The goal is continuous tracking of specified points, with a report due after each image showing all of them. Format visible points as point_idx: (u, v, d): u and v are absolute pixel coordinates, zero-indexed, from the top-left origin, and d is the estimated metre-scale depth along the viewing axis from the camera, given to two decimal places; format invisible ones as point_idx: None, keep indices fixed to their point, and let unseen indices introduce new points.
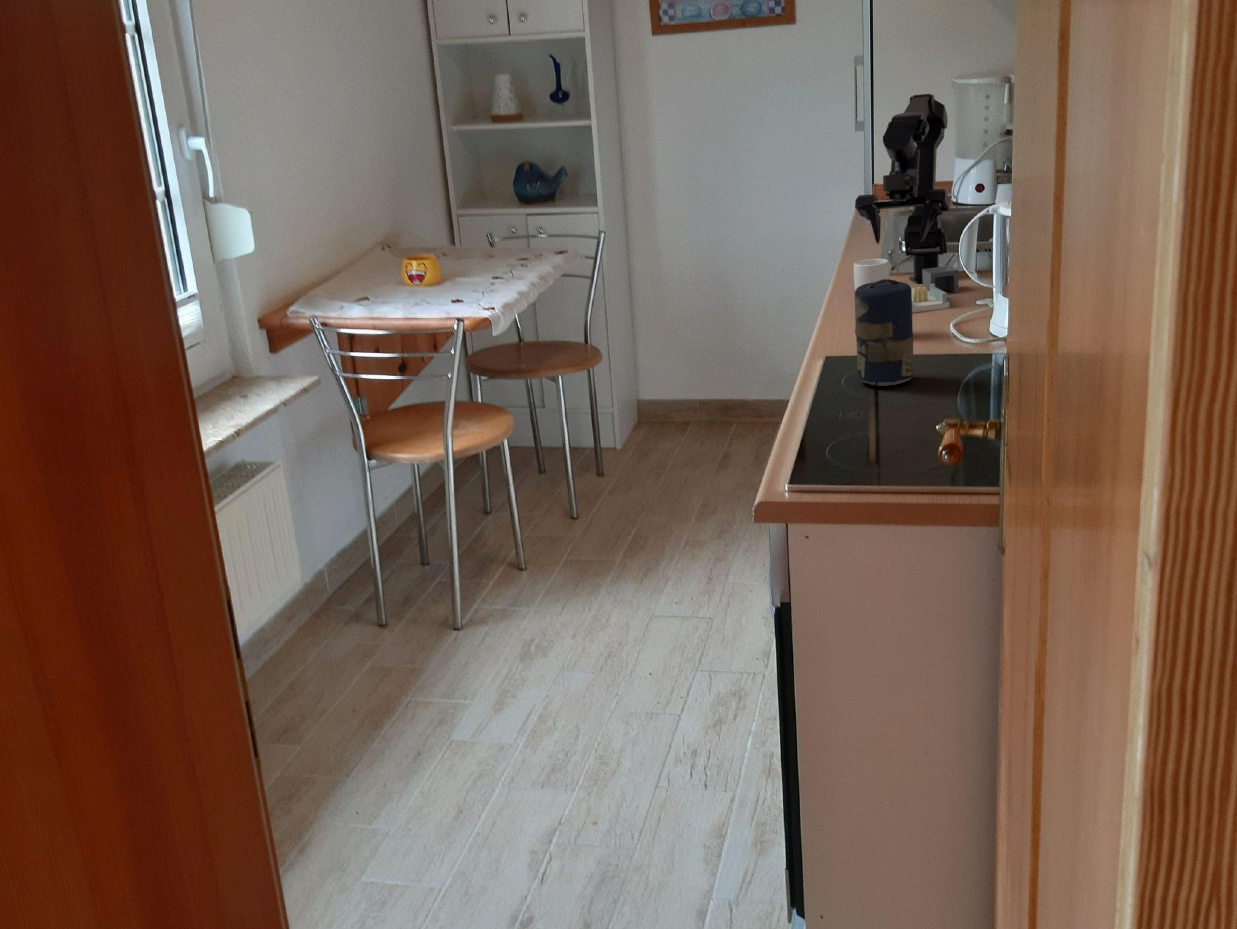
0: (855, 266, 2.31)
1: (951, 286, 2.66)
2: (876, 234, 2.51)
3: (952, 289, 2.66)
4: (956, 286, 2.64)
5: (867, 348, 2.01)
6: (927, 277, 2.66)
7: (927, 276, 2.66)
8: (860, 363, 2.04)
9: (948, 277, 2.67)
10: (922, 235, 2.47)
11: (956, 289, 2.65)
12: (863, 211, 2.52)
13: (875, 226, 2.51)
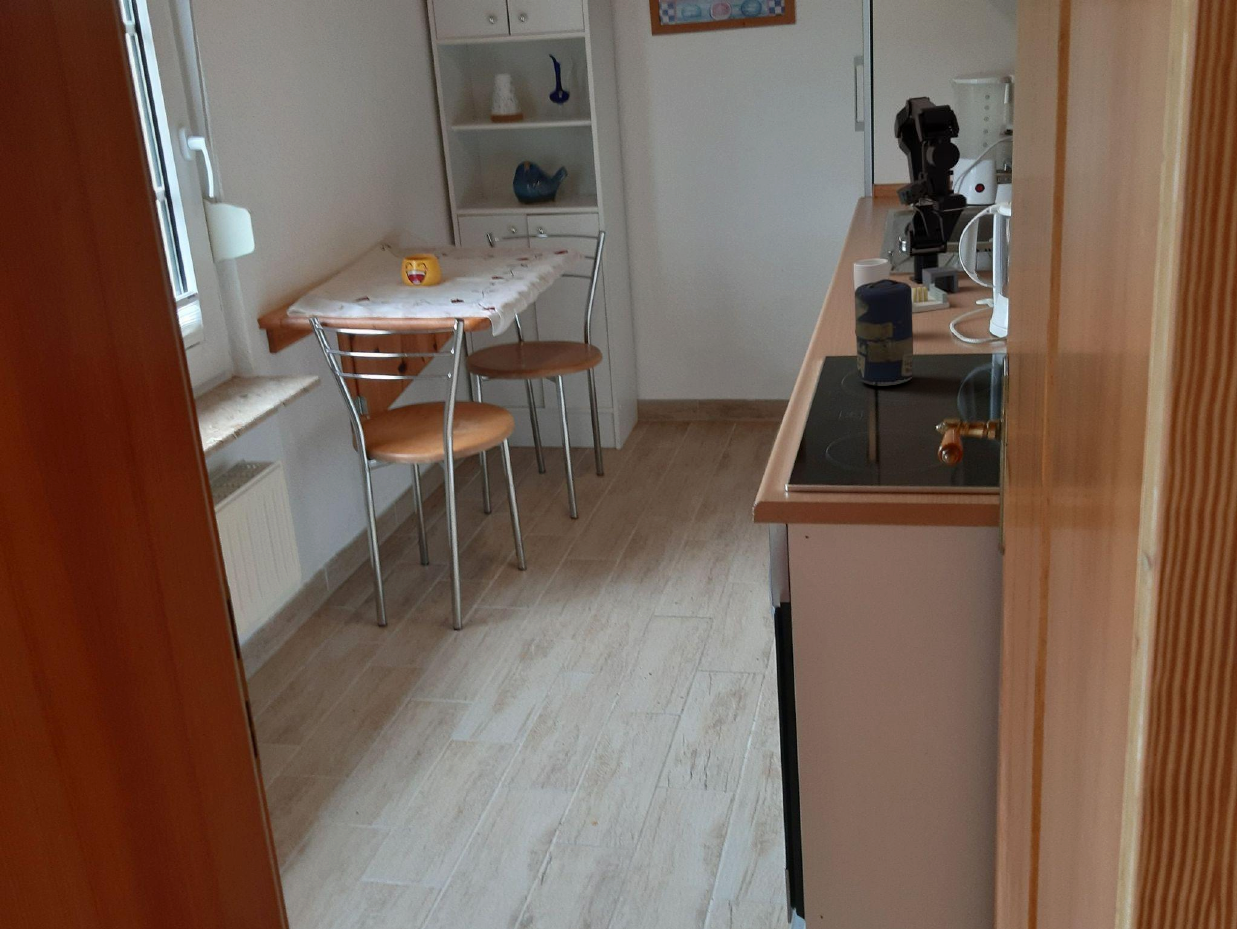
0: (855, 266, 2.31)
1: (951, 286, 2.66)
2: (926, 229, 2.67)
3: (952, 289, 2.66)
4: (956, 286, 2.64)
5: (867, 348, 2.01)
6: (927, 277, 2.66)
7: (927, 276, 2.66)
8: (860, 363, 2.04)
9: (948, 277, 2.67)
10: (943, 238, 2.58)
11: (956, 289, 2.65)
12: None
13: (924, 222, 2.66)
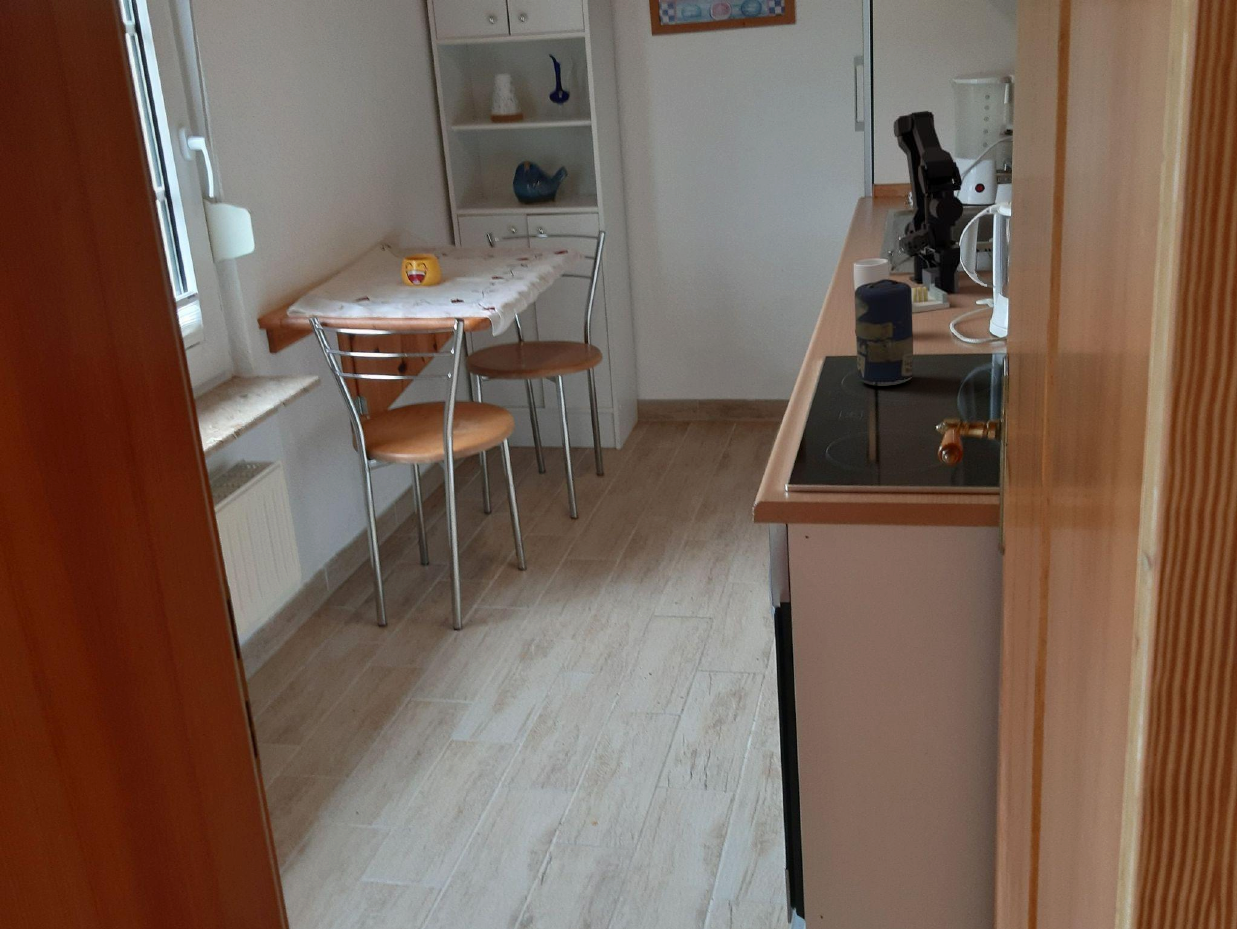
0: (855, 266, 2.31)
1: (951, 286, 2.66)
2: None
3: (952, 289, 2.66)
4: (956, 286, 2.64)
5: (867, 348, 2.01)
6: (927, 277, 2.66)
7: (927, 276, 2.65)
8: (860, 363, 2.04)
9: None
10: (942, 286, 2.64)
11: (956, 289, 2.65)
12: None
13: None
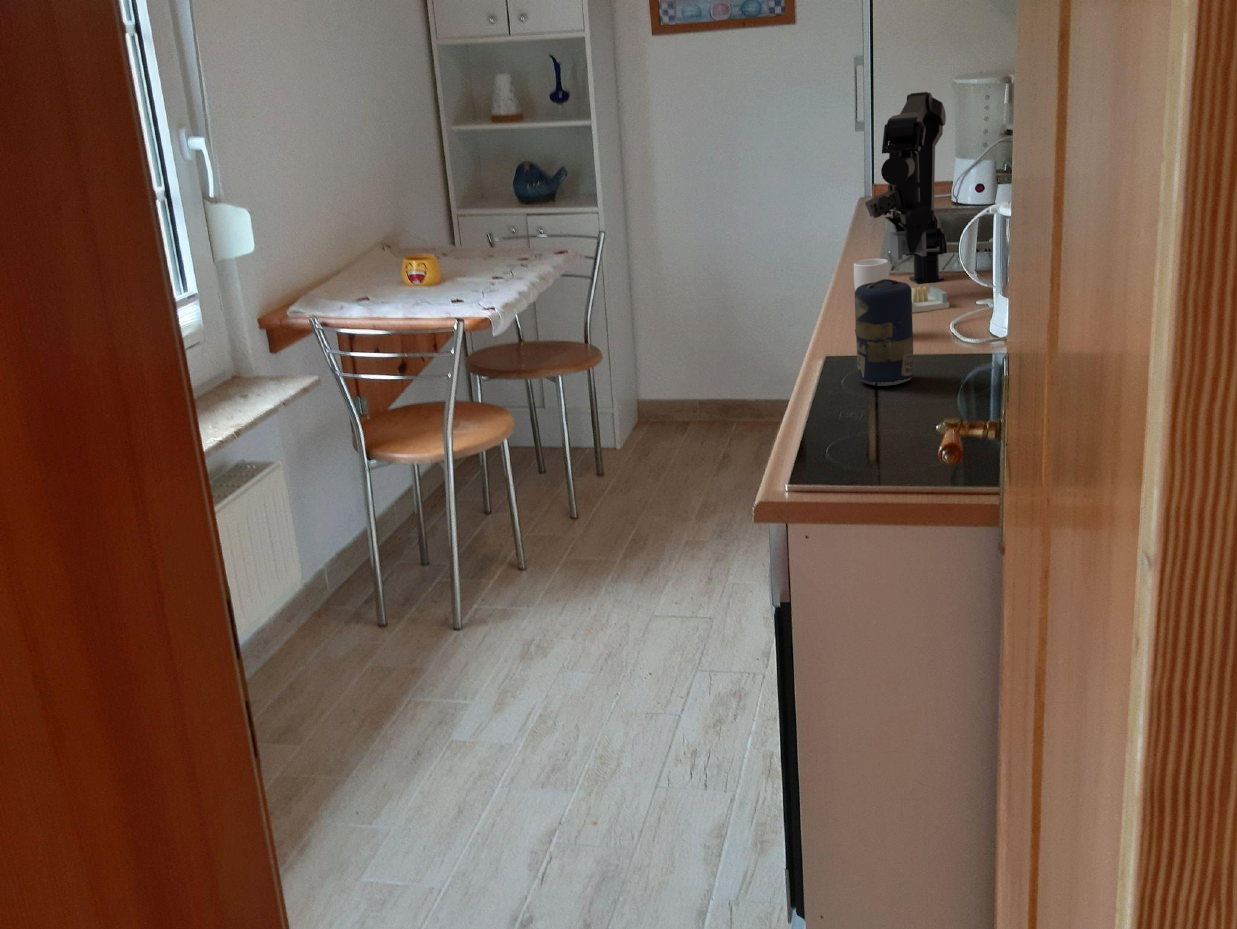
0: (855, 266, 2.31)
1: (919, 250, 2.59)
2: None
3: (920, 253, 2.58)
4: (924, 249, 2.57)
5: (867, 348, 2.01)
6: (894, 241, 2.58)
7: (894, 240, 2.58)
8: (860, 363, 2.04)
9: None
10: (909, 249, 2.56)
11: (924, 252, 2.57)
12: None
13: None
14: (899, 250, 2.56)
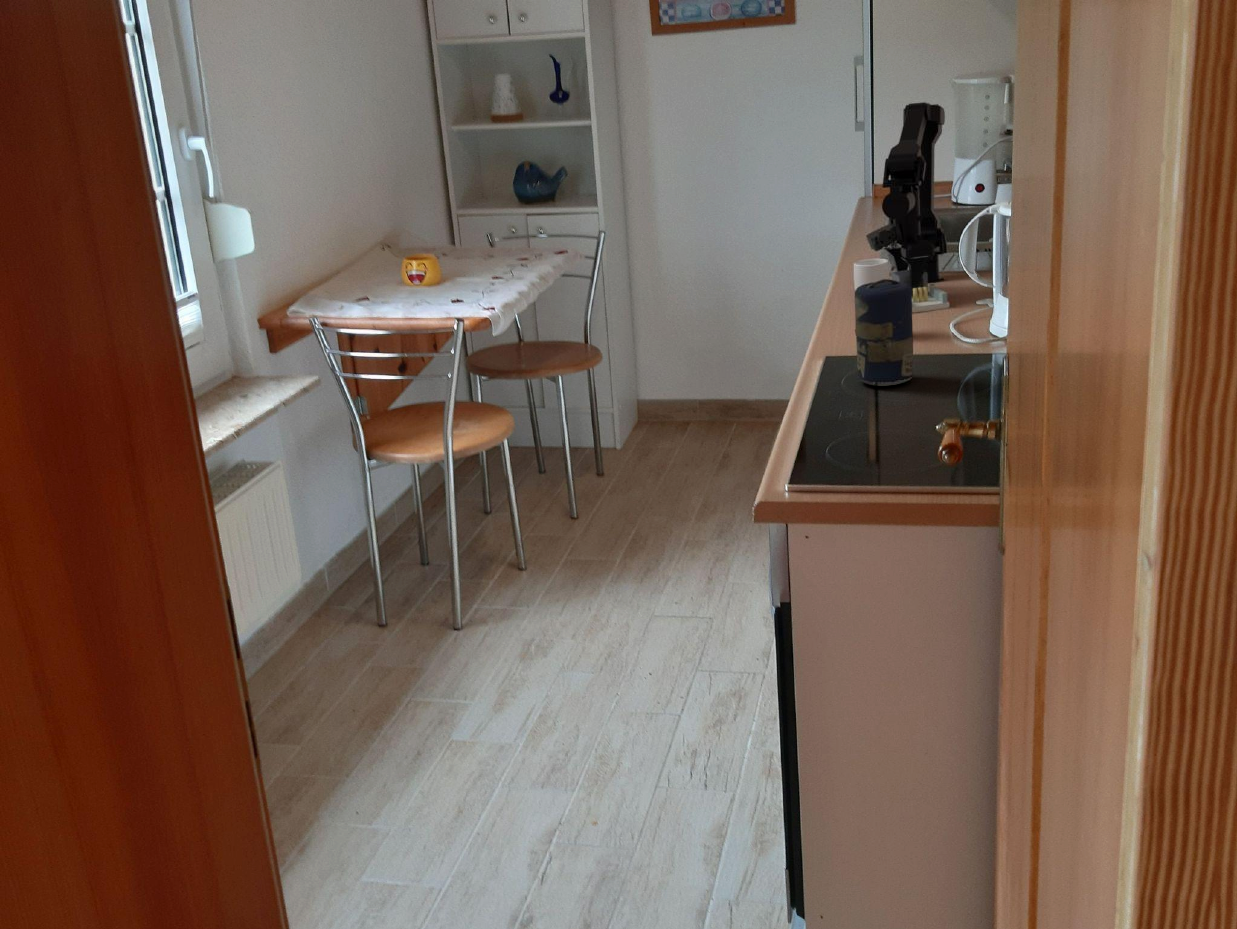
0: (855, 266, 2.31)
1: None
2: None
3: None
4: None
5: (867, 348, 2.01)
6: (896, 280, 2.60)
7: (896, 280, 2.60)
8: (860, 363, 2.04)
9: None
10: (912, 284, 2.57)
11: None
12: None
13: (895, 265, 2.66)
14: None
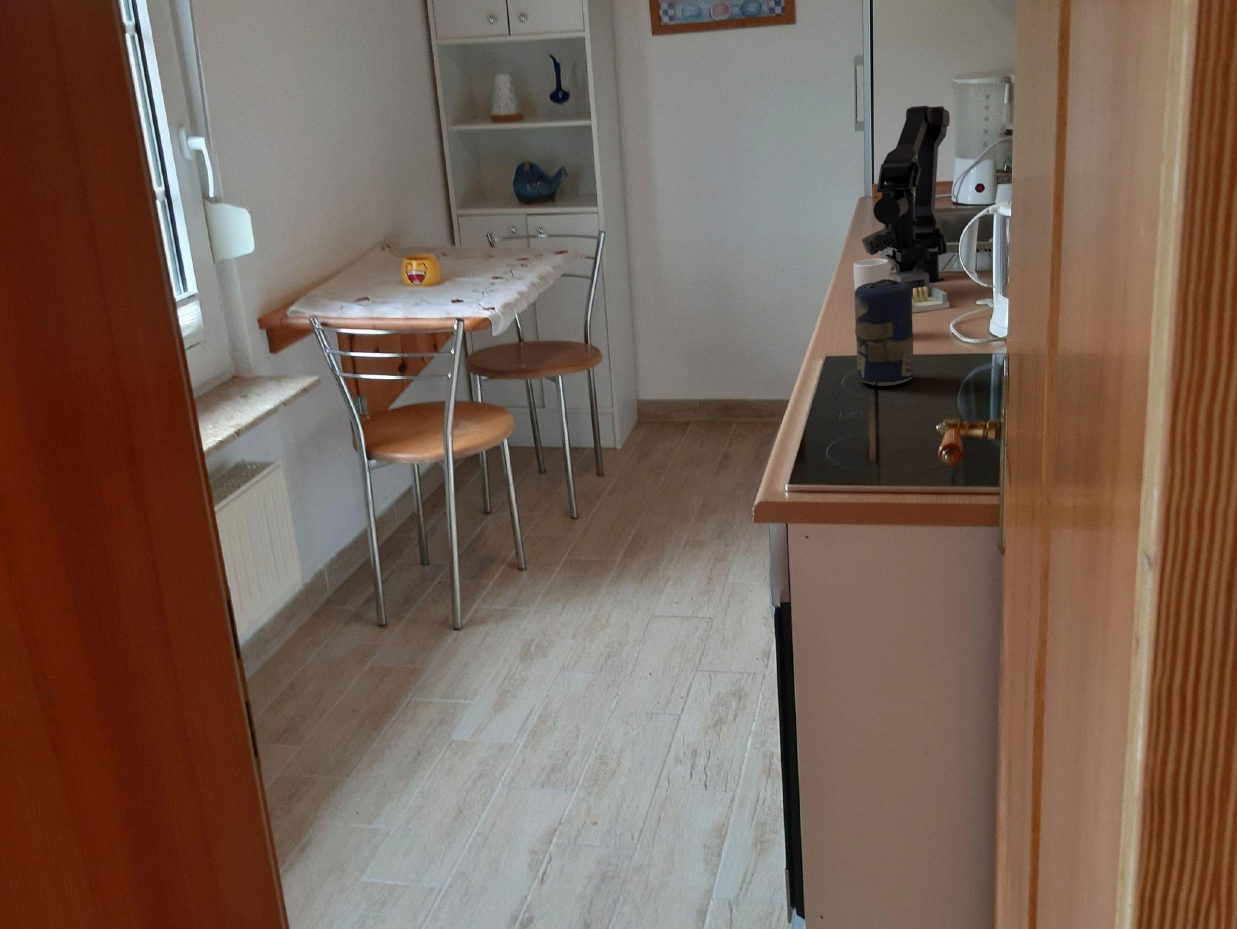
0: (855, 266, 2.31)
1: (922, 290, 2.60)
2: None
3: None
4: None
5: (867, 348, 2.01)
6: None
7: (897, 280, 2.59)
8: (860, 363, 2.04)
9: (919, 281, 2.61)
10: None
11: None
12: None
13: None
14: None
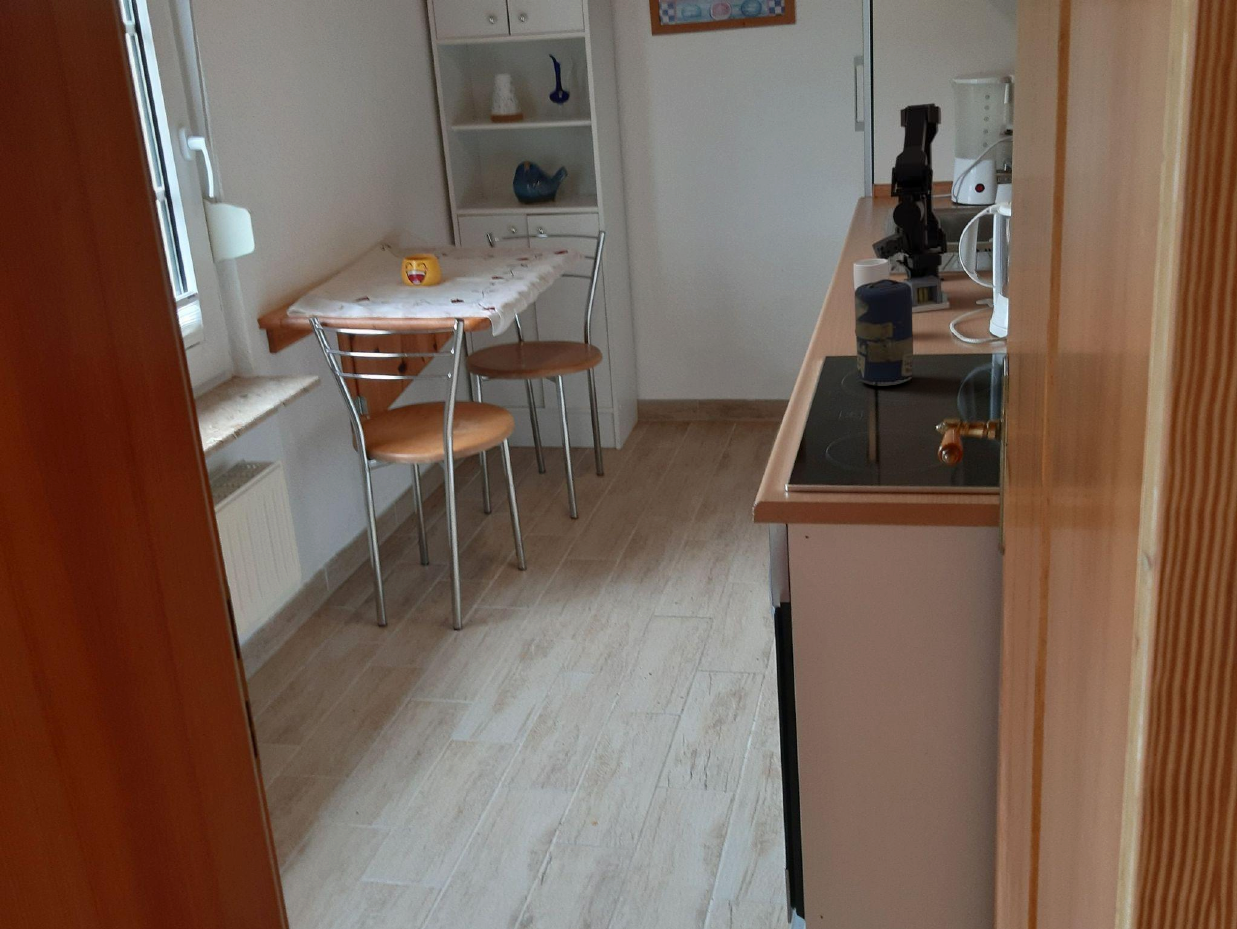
0: (855, 266, 2.31)
1: (934, 297, 2.53)
2: None
3: (935, 300, 2.53)
4: (939, 297, 2.51)
5: (867, 348, 2.01)
6: None
7: None
8: (860, 363, 2.04)
9: (931, 287, 2.54)
10: None
11: (939, 300, 2.51)
12: None
13: None
14: (913, 298, 2.51)
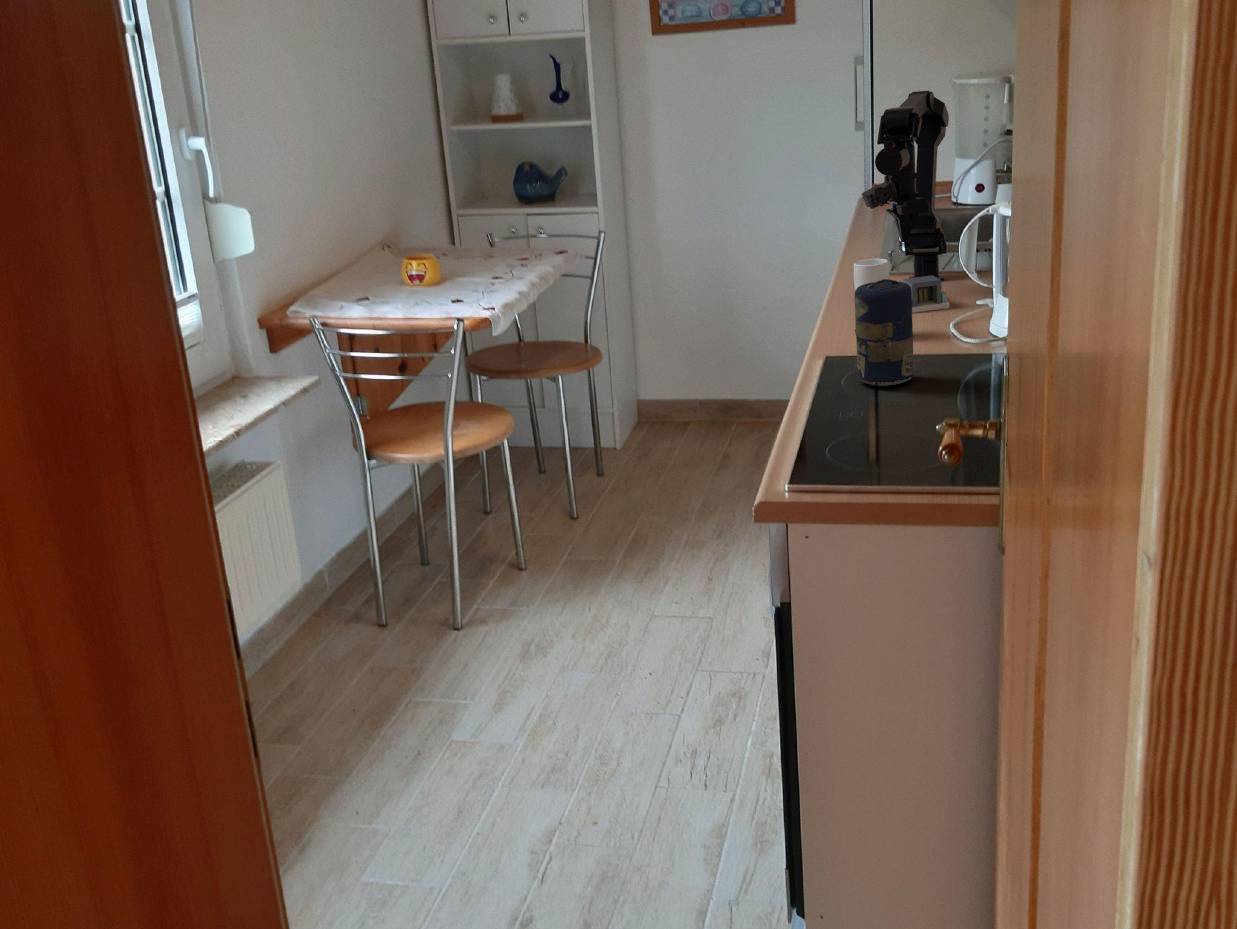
0: (855, 266, 2.31)
1: (934, 297, 2.53)
2: (899, 234, 2.61)
3: (935, 300, 2.53)
4: (939, 297, 2.51)
5: (867, 348, 2.01)
6: None
7: None
8: (860, 363, 2.04)
9: (931, 287, 2.54)
10: (901, 238, 2.60)
11: (939, 300, 2.51)
12: None
13: (897, 227, 2.60)
14: (913, 298, 2.51)
